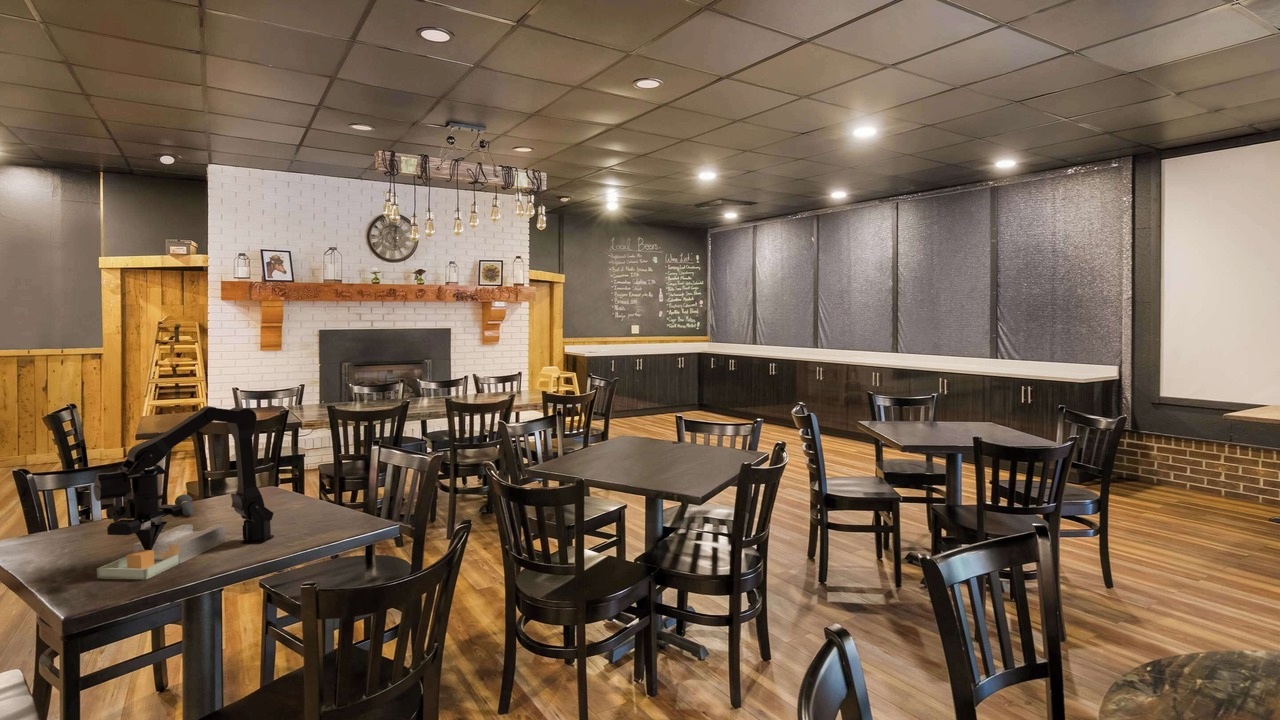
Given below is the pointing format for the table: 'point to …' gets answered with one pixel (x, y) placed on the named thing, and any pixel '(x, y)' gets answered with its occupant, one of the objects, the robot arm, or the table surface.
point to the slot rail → (185, 542)
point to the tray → (122, 572)
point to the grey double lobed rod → (185, 504)
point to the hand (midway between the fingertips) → (148, 551)
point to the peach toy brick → (140, 559)
